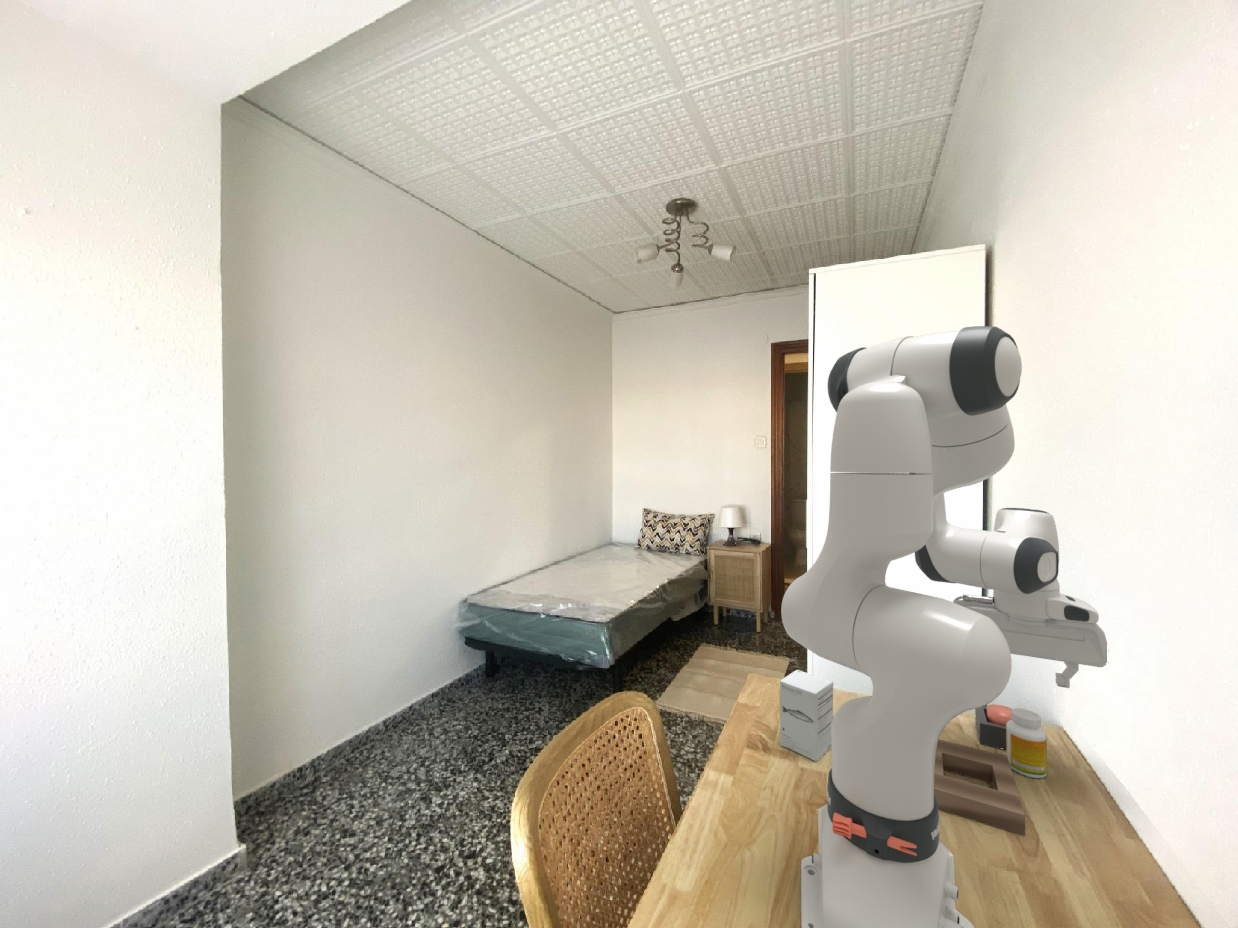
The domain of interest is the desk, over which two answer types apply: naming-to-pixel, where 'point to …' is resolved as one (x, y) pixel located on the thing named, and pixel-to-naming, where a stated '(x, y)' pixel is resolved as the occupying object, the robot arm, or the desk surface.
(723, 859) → the desk surface
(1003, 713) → the button
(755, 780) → the desk surface
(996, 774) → the brown bottle holder
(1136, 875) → the desk surface
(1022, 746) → the supplement bottle
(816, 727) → the supplement box
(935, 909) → the robot arm
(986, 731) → the button box
